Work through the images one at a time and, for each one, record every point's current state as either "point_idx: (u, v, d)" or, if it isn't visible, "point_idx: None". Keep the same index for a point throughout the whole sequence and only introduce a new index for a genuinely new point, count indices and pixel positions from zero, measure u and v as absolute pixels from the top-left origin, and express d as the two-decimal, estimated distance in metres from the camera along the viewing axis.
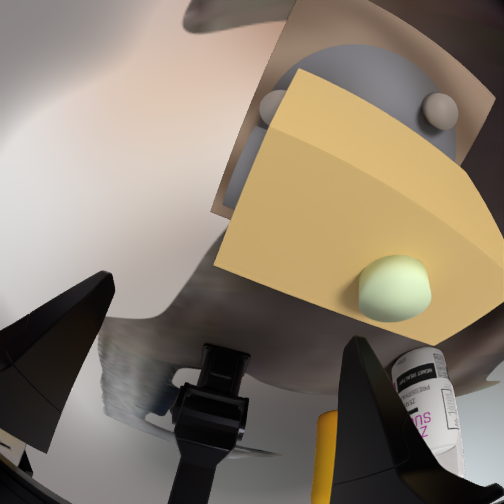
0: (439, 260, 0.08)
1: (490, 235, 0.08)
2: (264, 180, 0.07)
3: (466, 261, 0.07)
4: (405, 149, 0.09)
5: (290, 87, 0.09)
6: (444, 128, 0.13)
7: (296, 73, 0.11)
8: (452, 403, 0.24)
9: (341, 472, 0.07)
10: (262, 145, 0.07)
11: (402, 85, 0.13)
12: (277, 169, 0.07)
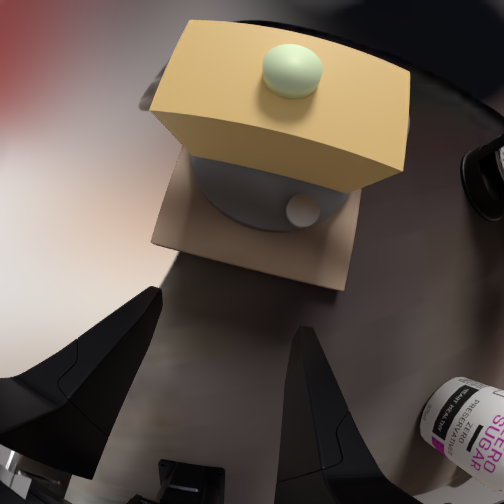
0: None
1: None
2: (187, 39, 0.11)
3: (334, 52, 0.11)
4: None
5: None
6: None
7: None
8: None
9: (283, 469, 0.07)
10: (186, 26, 0.11)
11: None
12: (194, 33, 0.11)
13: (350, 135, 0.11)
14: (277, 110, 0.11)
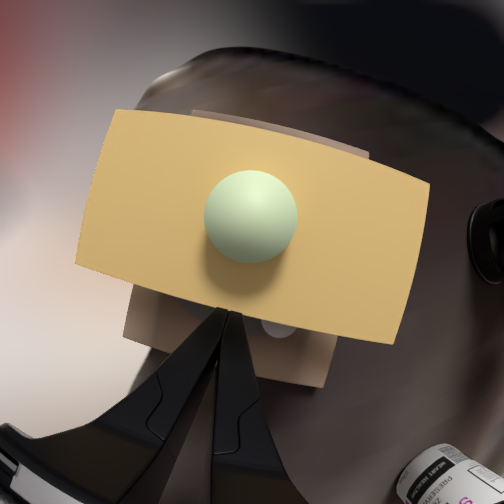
0: (288, 172, 0.09)
1: None
2: (111, 147, 0.09)
3: (321, 164, 0.09)
4: None
5: None
6: None
7: None
8: (490, 473, 0.11)
9: (206, 456, 0.07)
10: (111, 122, 0.09)
11: None
12: (120, 135, 0.09)
13: (329, 310, 0.09)
14: (229, 279, 0.09)
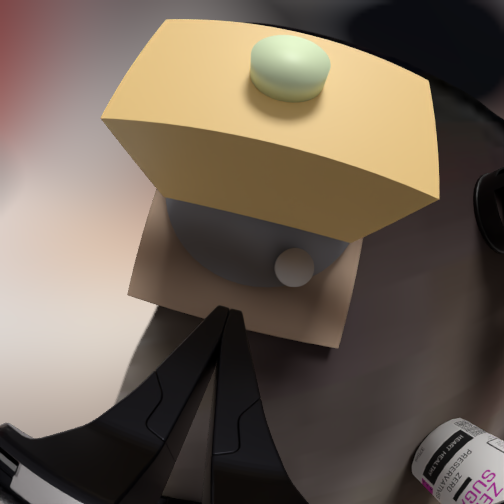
0: None
1: None
2: (160, 38, 0.09)
3: (340, 53, 0.09)
4: None
5: None
6: None
7: None
8: None
9: (206, 456, 0.07)
10: (161, 26, 0.09)
11: None
12: (168, 31, 0.09)
13: (371, 150, 0.08)
14: (270, 115, 0.08)
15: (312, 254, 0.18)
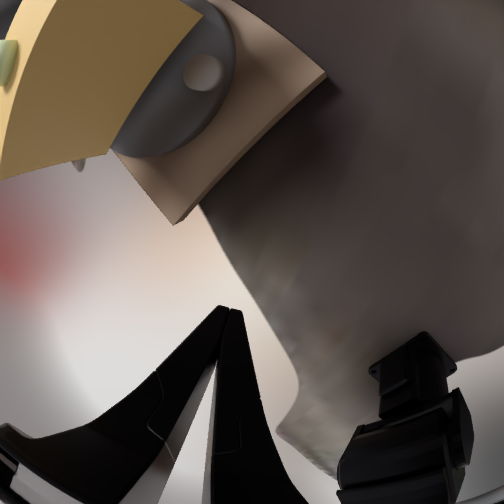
0: (9, 39, 0.06)
1: None
2: None
3: (15, 21, 0.06)
4: None
5: None
6: None
7: None
8: None
9: (206, 456, 0.07)
10: None
11: None
12: None
13: (40, 19, 0.05)
14: (13, 82, 0.07)
15: (207, 52, 0.14)
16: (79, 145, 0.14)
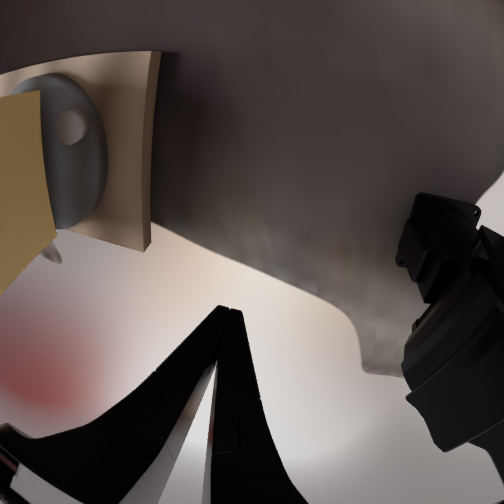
0: None
1: None
2: None
3: None
4: None
5: None
6: None
7: None
8: None
9: (206, 456, 0.07)
10: None
11: None
12: None
13: None
14: None
15: (65, 110, 0.14)
16: (29, 244, 0.16)
